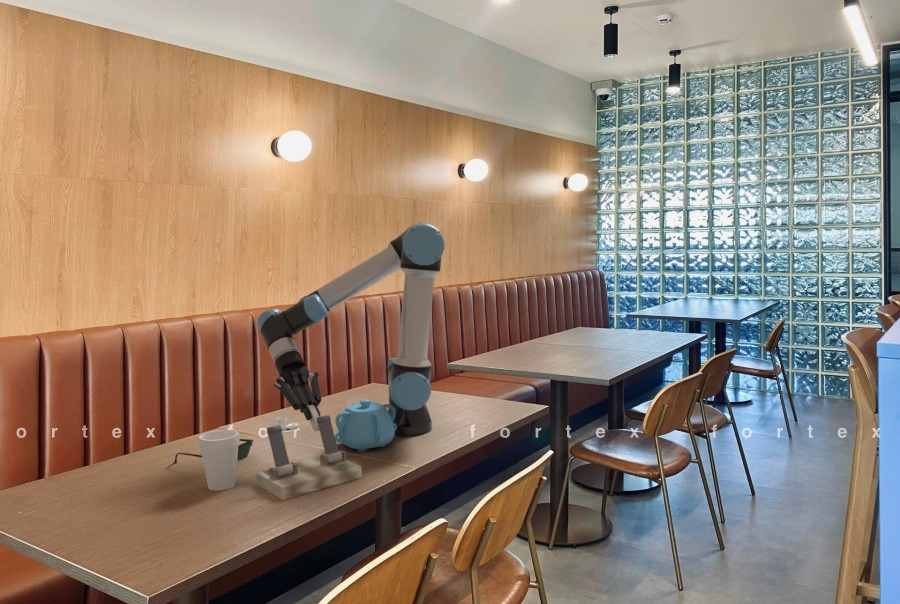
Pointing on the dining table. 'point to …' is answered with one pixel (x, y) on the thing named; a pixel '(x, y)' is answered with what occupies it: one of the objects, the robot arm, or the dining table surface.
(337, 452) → the lever
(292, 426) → the teacup and saucer
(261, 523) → the dining table surface
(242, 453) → the sunglasses
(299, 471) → the switch base
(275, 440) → the lever
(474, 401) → the dining table surface
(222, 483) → the foam cup
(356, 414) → the decorative pot
